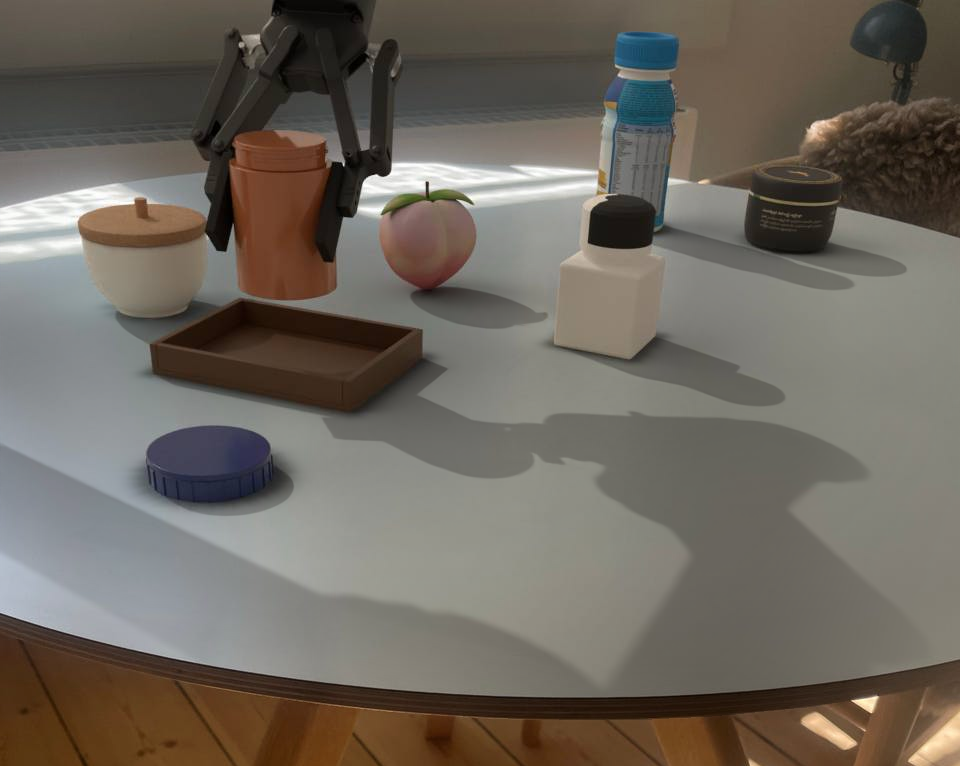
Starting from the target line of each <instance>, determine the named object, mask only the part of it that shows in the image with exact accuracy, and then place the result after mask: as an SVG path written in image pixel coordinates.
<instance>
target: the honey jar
mask: <svg viewBox="0 0 960 766" xmlns="http://www.w3.org/2000/svg"><path fill="white" fill-rule="evenodd" d="M233 147H235V157H234V158H232V159H231V160H230V161H229V174H230V187H231V200H232V213H233V226H232V228H233V239H234V240H233V241H234V253H235V264H236V266H235V267H236V278H237V287H238V289H239V290H240V291H241V292H242V293H244V294H246V295H248V296H251V297H255V298H258V299H263V300H264V299H265V300H272V301H305V300H310V299H316V298H320V297H324V296H326V295H329V294H332V293H333V292H334V291H335V290H336V289H337V287H338V262H337V259H338V258H337V252H336V253H335V258H334V263H330V262H324V261H323V259H322V257H321V255H320V253H319V251H318V248H317V246H316V244H315V238H316V233H317V228H318V224H319V219H320V215H321V210H322V205H323V201H324V196H325V192H326V187H327V183H328V178H329V173H330V169H331V164H332V161H333V160H332V159H330V158H328V153H329V147H328V145H327V139H326V137H324V136H322V135H320V134H317V133H313V132H309V131H308V132H307V131H303V130H292V129H291V130H290V129H289V130H287V129H268V130H267V129H266V130H263V129H262V131H253V132H247V133H243V134H240V135H237V136H236V137H235V138H234V142H233Z"/></svg>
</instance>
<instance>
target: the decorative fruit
mask: <svg viewBox="0 0 960 766" xmlns="http://www.w3.org/2000/svg"><path fill="white" fill-rule="evenodd" d="M461 201H462V202H465V203H468V204H470V205H471V206H475V203H474V201H473V200H471V198H469V197H468V196H467V195H466V194H464V193H463V192H460V191H458V190H454V189H447V188H444V189H442V188H441V189H436V190H433V191H431V192H430V182H429V181H428V180H426V181H425V192H415V193H402V194H398V195H397V196H395V197H393V198H391V199H390V200H389V201H388V202H387V203H386V204H385V206H384V207H383V209H382V210H381V212H380V216H381V218H380V221H379V226H378V238H379V243H380V248H381V251H382V253H383V256H384V258H385V260H386V263H387V264H388V266H389V268H390V269H391V271H393V273H394V274H395V275H396V276H397V277H398V278H400V279H402V281H404V282H407V283H408V284H410V285H413V286H414V287H417V288H419V289H421V290H423V291H429V290H432V289H435V288H437V287H439V286H440V285H442V284H444V283H446V282H447V281H449V280H450V279H451V278H453V277H454V276H455V275H457V273H458V272H459V271H460V270H461V269H462V268H463V267H464V266H465V264H467V262H468V261H469V259H470V258H471V256H472V255H473V252H474V250H475V247H476V243H477V237H478V236H477V228H476V224H475V220H474V218H473V216H472V215H471V213H470V211H469V210H468V208H467V207H465V205H464V204H463V203H462V202H461Z"/></svg>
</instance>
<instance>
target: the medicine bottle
mask: <svg viewBox="0 0 960 766" xmlns="http://www.w3.org/2000/svg"><path fill="white" fill-rule="evenodd" d="M655 217H656V209H655V208H654V206H653V205H652V204H651V203H649V202H648V201H646V200H644V199H642V198H640V197H636V196H631V195H624V194H603V195H598V196H596V195H595V196H593V197H591V198H588V199H587V200H586V201H585V202H584V203H583V204H582V210H581V220H580V231H579V232H580V233H579V242H578V248H579V249H580V250H579V251H578V252H576V253H574V254H573V255H572V256H570V257H568V258H567V259H565V260H564V261H562V262H561V263H560V265H559V273H558V286H557V297H556V299H557V300H556V310H555V311H556V312H555V324H554V334H553V335H554V336H553V343H554V345H555V346H557V347H561V348H562V347H563V348H567V349H572V350H577V351H582V352H586V353H592V354H597V355H601V356H602V355H603V356H608V357H612V358H618V359H623V360H632V359H633V358H634V357H635V356H636V355H637V354H638V353H639V352H640V351H642V350H643V348H644V347H646V346H647V345H648V344H649V343H650V342H651V341H652V340H653V339H654V338H655V337H656V335H657V328H658V320H659V312H660V307H661V306H660V305H661V297H662V292H663V291H662V289H663V283H664V275H665V268H666V258H665V256H663V255H658V254H653V253H652V247H653V239H654V233H655V232H654V225H655Z"/></svg>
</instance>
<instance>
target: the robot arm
mask: <svg viewBox="0 0 960 766" xmlns="http://www.w3.org/2000/svg"><path fill="white" fill-rule="evenodd" d="M376 4H377V0H272V3H271V11H270V12H271V13H270V17H269V19H268V21H267V22H266V24H264V26H263V27H262V28H261V30H260V33H259V32H258V33H251V34H250V33H249V34H241V33H240V31H239V29H238V28H237V27H234V26H232V27H228V28H227V29H226V30H224V32H223V50H222V51H223V52H222V56H221V59H220V61H219V63H218V66H217V68H216V70H215V73H214V76H213V78H212V80H211V83H210V85H209V87H208V90H207V93H206V95H205V97H204V100H203V103H202V104H201V106H200V110H199V112H198V114H197V116H196V119H195V121H194V123H193V126H192V128H191V131H190V134H189V137H190V139H191V141H192V143H193V144H194V146H195V148H196V150H197V152H198V154H199V155H200V157H201V159H202V160H203V161H204V162H205V161H206V162H209V164H208V169H207V173H206V177H205V181H204V186H203V190H204V195H205V196H206V198H207V199H208V202H209V203H210V207H209V211H208V214H207V218H206V220H207V223H206V227H205V233H206V236H207V239H209V241H210V243H211V244H212V245H213V247H214V249H215V251H216V252H221V253H227V251H228V246H229V243H230V238H231V235H232V231H233V213H232V200H231V187H230V174H229V161H230V160H231V159H232V158H234V157H235V147H233V142H234V138H235V137H236V136H237V135H240V134H243V133H247V132H253V131H263V129H264V128H265V127H266V126H267V124H268V122H269V121H270V120H271V118H272V117H273V115H274V114H275V112H276V111H277V110H278V109H279V107H280V106H281V105H285V104H287V102H288V101H289V99H290V98H291V97H292V95H293V94H294V93H296V94H297V93H299V94H300V93H308V92H312V93H315V94H318V95H324V96H329V98H330V102H331V107H332V112H333V116H334V120H335V125H336V129H337V134H338V139H339V143H340V147H341V154H342V158H343V160H344V163H343V161H335V160H332V164H331V169H330V173H329V178H328V183H327V187H326V192H325V196H324V201H323V205H322V210H321V215H320V219H319V224H318V228H317V233H316V238H315V244H316V246H317V248H318V251H319V253H320V255H321V257H322V259H323V261H324V262H330V263H334V258H335V253H336V254H337V248H338V244H339V239H340V234H341V230H342V225H343V220H344V218H347V219H354V217H355V215H356V214H357V212H358V208H359V204H360V199H361V194H362V189H363V185H364V182H365V181H366V179H368V178H369V177H372V176H376V175H377V176H378V177H380V178H386V177H388V176H390V174H391V173H392V169H393V141H394V119H395V117H394V116H395V90H396V87H397V85H398V83H399V80H400V78H401V76H402V73H403V72H404V64H403V61H402V55H401V52H400V48H399V45H398V42H397V40H395V39H393V38H388V39H385V40H384V41H382V44H380V43H376V42H372V41H369V35H370V33H371V28H372V23H373V19H374V14H375V9H376ZM261 54H265V56H266V57H265V59H264V60H263V61H262V63H261V65H260V66H259V69H258V75H257V77H256V79H255V80H254V81H253V83H252V84H251V86H250V88H248V90H247V92H246V93H245V95H244V96H243V97H242V98H241V96H242V94H243V92H244V89H245V86H246V83H247V81H248V76H249V70H254V69H255V67H256V65H255V63H256V60H257V58H258V56H260V55H261ZM366 63H368V65H369V68H370V73H371V74H372V75H371V77H372V78H371V100H370V123H369V125H370V126H369V143H368V149H364V150H362V147H361V143H360V140H359V135H358V130H357V126H356V120H355V116H354V111H353V108H352V101H351V97H350V92H349V88H348V84H347V81H348V80H349V79H351V78H352V77H353V76H354V74H356V73H357V72H358V71H359V70H360V69H361V68H363V67H364V65H365V64H366ZM240 98H241V100H240ZM239 101H240V102H239Z"/></svg>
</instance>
